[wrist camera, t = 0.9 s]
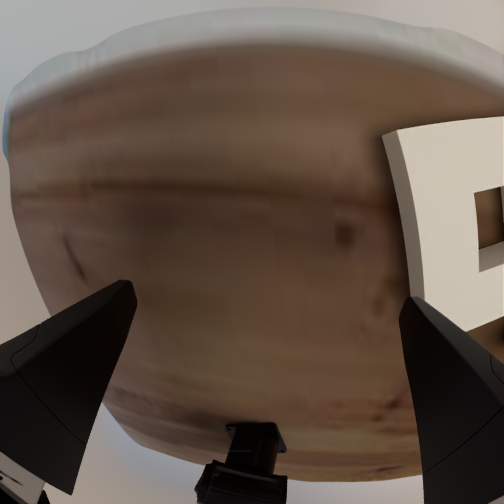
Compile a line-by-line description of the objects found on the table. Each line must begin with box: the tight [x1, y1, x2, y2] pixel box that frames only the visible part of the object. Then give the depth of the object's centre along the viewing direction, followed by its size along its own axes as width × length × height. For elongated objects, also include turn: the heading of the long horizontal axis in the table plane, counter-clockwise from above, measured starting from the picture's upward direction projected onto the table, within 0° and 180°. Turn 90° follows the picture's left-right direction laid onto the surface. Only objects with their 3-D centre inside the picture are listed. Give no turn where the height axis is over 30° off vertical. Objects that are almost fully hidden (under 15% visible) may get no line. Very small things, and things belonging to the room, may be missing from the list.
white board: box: [382, 117, 504, 332], centre depth 16 cm, size 16×16×4 cm
